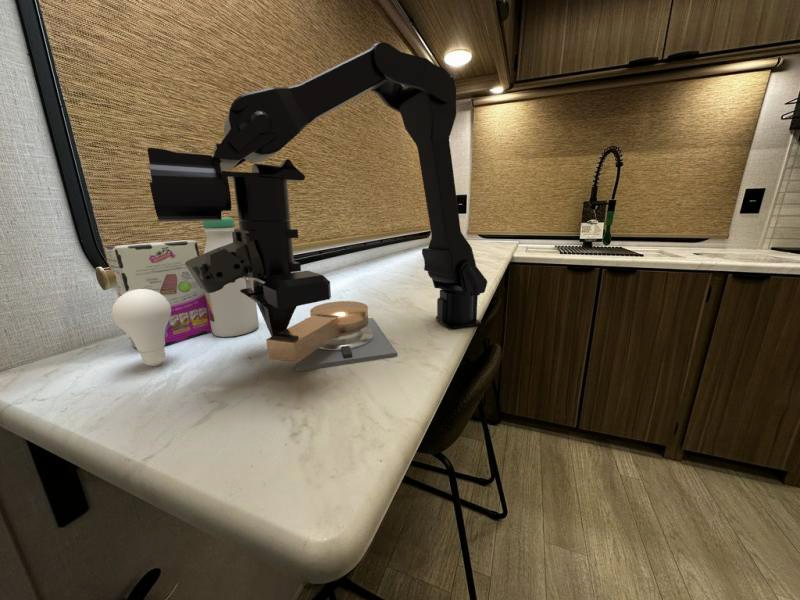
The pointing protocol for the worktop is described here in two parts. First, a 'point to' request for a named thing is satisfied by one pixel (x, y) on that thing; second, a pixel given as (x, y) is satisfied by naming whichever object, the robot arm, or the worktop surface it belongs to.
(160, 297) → the lightbulb
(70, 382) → the worktop surface
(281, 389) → the worktop surface
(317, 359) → the mat
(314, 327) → the door handle
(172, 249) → the candy bar box
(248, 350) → the worktop surface
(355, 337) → the white disc
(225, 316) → the milk bottle
